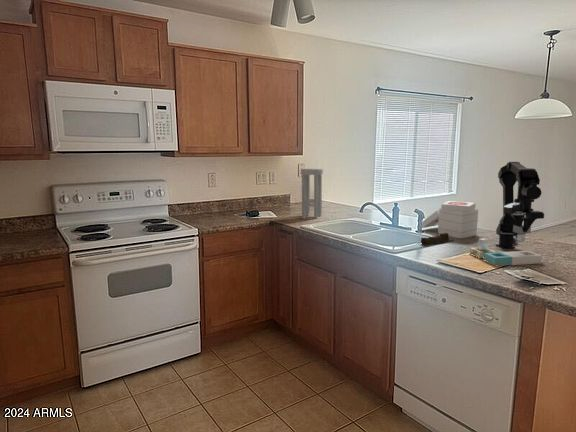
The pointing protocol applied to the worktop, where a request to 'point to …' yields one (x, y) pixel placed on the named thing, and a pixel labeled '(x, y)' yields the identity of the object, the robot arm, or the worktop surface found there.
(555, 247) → the worktop surface
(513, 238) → the white blue elongated body
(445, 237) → the hand tool
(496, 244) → the robot arm
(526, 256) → the dock
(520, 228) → the gray rectangular block
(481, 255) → the frame
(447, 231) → the pizza boxes
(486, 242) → the pin
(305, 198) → the stool
